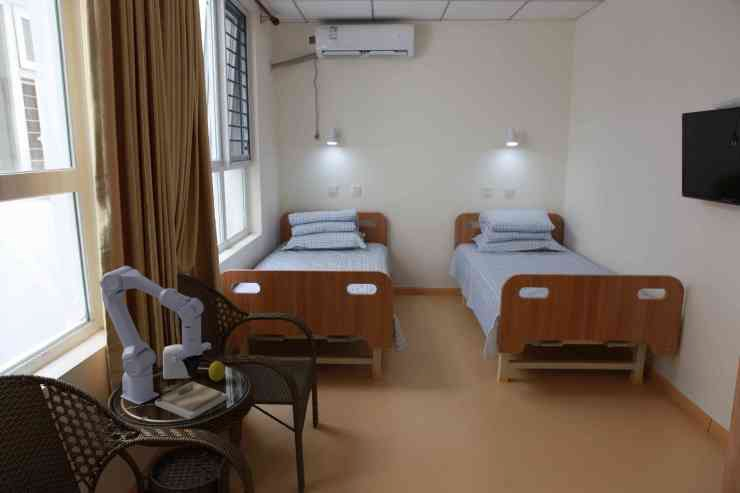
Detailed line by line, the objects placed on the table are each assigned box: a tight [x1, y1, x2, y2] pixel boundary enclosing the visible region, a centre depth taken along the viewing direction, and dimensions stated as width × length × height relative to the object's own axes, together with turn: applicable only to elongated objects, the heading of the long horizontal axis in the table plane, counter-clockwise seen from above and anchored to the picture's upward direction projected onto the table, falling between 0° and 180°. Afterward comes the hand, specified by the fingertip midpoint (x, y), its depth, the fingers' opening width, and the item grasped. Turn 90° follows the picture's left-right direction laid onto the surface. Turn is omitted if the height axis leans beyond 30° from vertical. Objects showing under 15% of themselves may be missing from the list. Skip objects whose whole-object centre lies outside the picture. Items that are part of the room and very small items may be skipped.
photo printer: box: [162, 343, 192, 380], centre depth 182 cm, size 10×4×12 cm, turn 103°
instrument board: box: [160, 381, 223, 411], centre depth 166 cm, size 14×13×3 cm
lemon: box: [208, 360, 226, 383], centre depth 180 cm, size 6×6×8 cm
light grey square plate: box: [154, 380, 229, 420], centre depth 166 cm, size 16×16×2 cm
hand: (192, 376), depth 164 cm, fingers closed
